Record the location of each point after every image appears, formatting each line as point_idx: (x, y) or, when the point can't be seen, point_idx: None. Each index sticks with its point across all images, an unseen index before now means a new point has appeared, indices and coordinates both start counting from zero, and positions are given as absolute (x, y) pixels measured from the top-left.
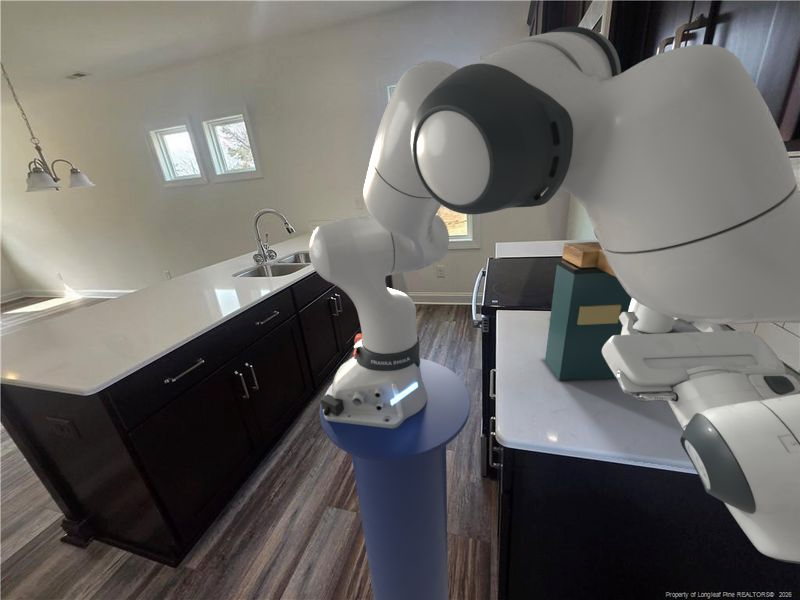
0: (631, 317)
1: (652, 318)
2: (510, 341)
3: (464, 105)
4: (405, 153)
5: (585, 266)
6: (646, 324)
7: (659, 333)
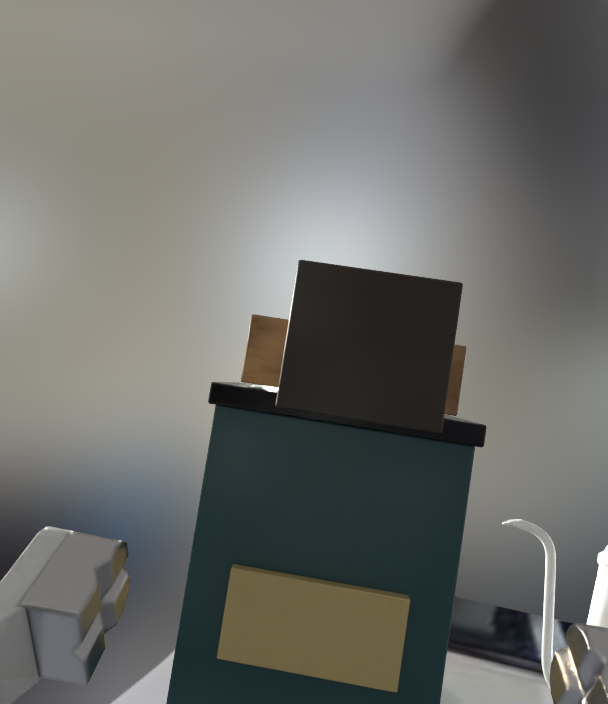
0: (35, 580)
1: None
2: (148, 699)
3: None
4: None
5: (260, 380)
6: None
7: None
